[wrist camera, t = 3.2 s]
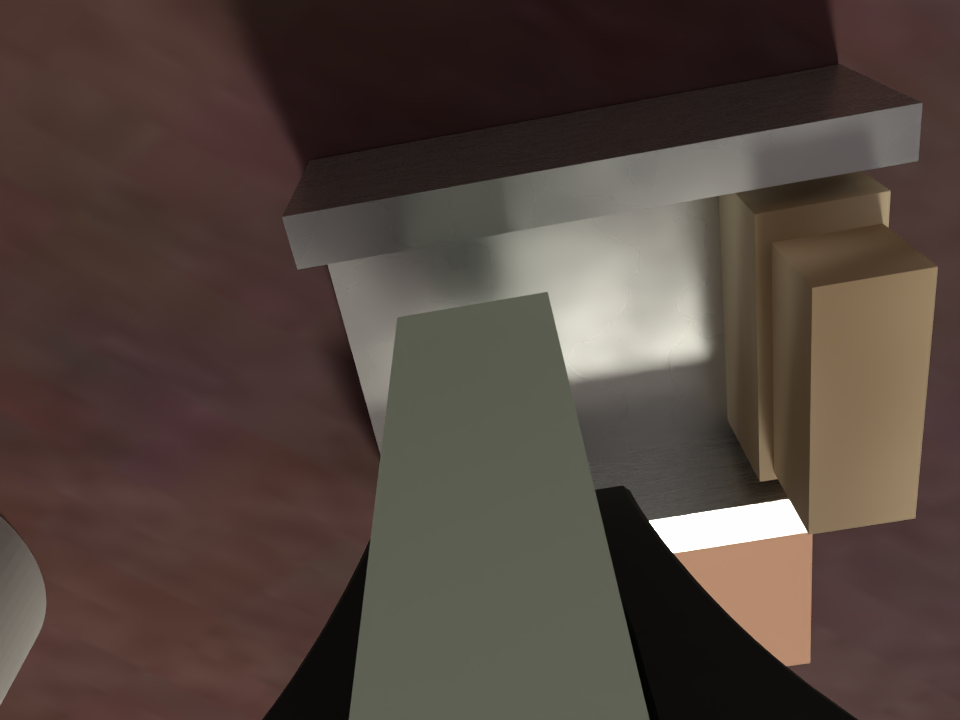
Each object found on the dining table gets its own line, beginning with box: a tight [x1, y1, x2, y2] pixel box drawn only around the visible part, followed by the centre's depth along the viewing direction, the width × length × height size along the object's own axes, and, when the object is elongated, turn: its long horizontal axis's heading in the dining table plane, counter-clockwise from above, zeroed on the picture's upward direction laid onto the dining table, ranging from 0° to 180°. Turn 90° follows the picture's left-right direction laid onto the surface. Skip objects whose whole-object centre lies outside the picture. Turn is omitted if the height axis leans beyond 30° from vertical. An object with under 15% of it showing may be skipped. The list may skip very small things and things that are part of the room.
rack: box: [282, 64, 922, 553], centre depth 19 cm, size 11×9×4 cm
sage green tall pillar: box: [349, 292, 649, 720], centre depth 12 cm, size 2×6×9 cm, turn 10°
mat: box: [673, 532, 812, 666], centre depth 24 cm, size 10×7×1 cm
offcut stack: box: [719, 171, 938, 535], centre depth 17 cm, size 2×6×4 cm, turn 10°
